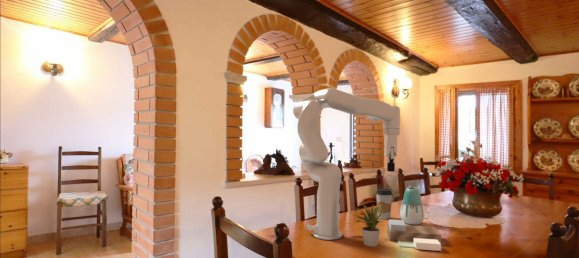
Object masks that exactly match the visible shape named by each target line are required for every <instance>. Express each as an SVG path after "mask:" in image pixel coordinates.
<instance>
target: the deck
mask: <svg viewBox="0 0 579 258" xmlns="http://www.w3.org/2000/svg"><path fill="white" fill-rule="evenodd" d="M405 225H406V231H391V229H390V227H389V223H387V226H386V229H387V230H386V231H387V232H386V233H387V236H388V239H389V241H390V242H397V241H410V242H414V238H421V239H436V240H438V241H439V242H440V244H441V245H442V234H441V233H440V231H438V230H437V228H436V227H434V226H425V225H424V226H421V225H410V224H405Z"/></svg>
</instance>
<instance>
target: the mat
mask: <svg viewBox="0 0 579 258" xmlns="http://www.w3.org/2000/svg"><path fill="white" fill-rule="evenodd" d="M396 242H397V244H398V246H399V248H410V249H416V248H415V246H414V244H413V243H414V242H410V241H396Z"/></svg>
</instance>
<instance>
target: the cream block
mask: <svg viewBox="0 0 579 258" xmlns="http://www.w3.org/2000/svg"><path fill="white" fill-rule="evenodd" d="M413 244H414V246H415V248H414V249H415V250H423V251H425V250H426V251H436V252H437V251H440V252H441V251H442V243H441V244H440V242H439V241H438V240H436V239H421V238H414V243H413Z"/></svg>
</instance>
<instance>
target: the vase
mask: <svg viewBox="0 0 579 258" xmlns="http://www.w3.org/2000/svg"><path fill="white" fill-rule="evenodd" d="M399 216H400V220H403V221H404V223H405V225H410V226H419V225H421V223H423V221H424V219H425V208H424V204H423V201H422V196H421V193H420V191H419V190H418V188H417V187H414V186H408V187H406V189H405V191H404V194H403V199H402V201H401V206H400V209H399Z"/></svg>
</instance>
